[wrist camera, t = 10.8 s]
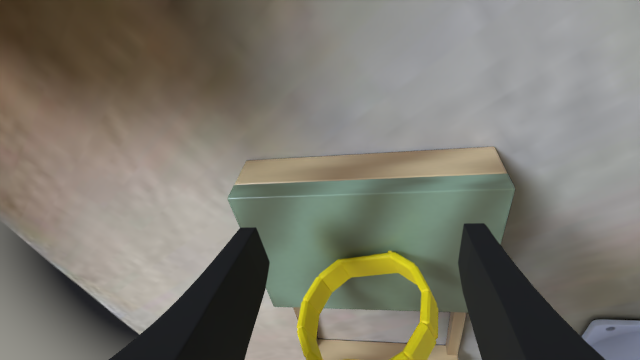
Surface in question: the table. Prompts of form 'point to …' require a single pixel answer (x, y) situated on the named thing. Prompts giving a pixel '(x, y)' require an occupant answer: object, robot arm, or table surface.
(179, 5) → the table surface
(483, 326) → the robot arm
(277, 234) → the step shelf
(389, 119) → the table surface
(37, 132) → the table surface
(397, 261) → the watch
